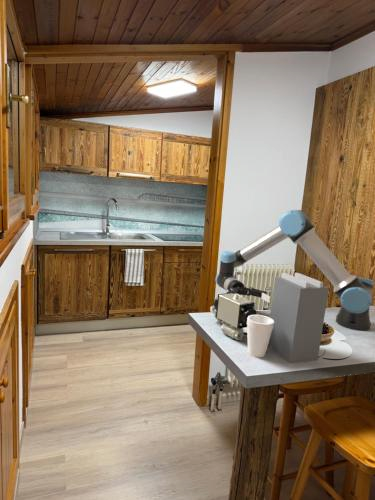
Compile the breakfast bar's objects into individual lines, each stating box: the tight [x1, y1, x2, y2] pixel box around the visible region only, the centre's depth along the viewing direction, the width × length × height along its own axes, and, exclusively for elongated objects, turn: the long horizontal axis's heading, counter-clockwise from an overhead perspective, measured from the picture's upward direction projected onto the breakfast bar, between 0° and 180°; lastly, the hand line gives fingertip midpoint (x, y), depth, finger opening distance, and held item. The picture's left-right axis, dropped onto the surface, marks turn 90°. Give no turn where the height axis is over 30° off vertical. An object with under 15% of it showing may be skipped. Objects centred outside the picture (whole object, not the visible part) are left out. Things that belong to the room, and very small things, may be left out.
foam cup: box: [246, 314, 274, 358], centre depth 126 cm, size 10×9×13 cm
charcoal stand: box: [268, 272, 330, 364], centre depth 128 cm, size 12×15×29 cm
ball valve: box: [213, 292, 258, 341], centre depth 139 cm, size 18×8×18 cm, turn 36°
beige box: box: [209, 304, 223, 324], centre depth 154 cm, size 9×7×10 cm
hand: (257, 300), depth 153 cm, fingers open, 13 cm apart
